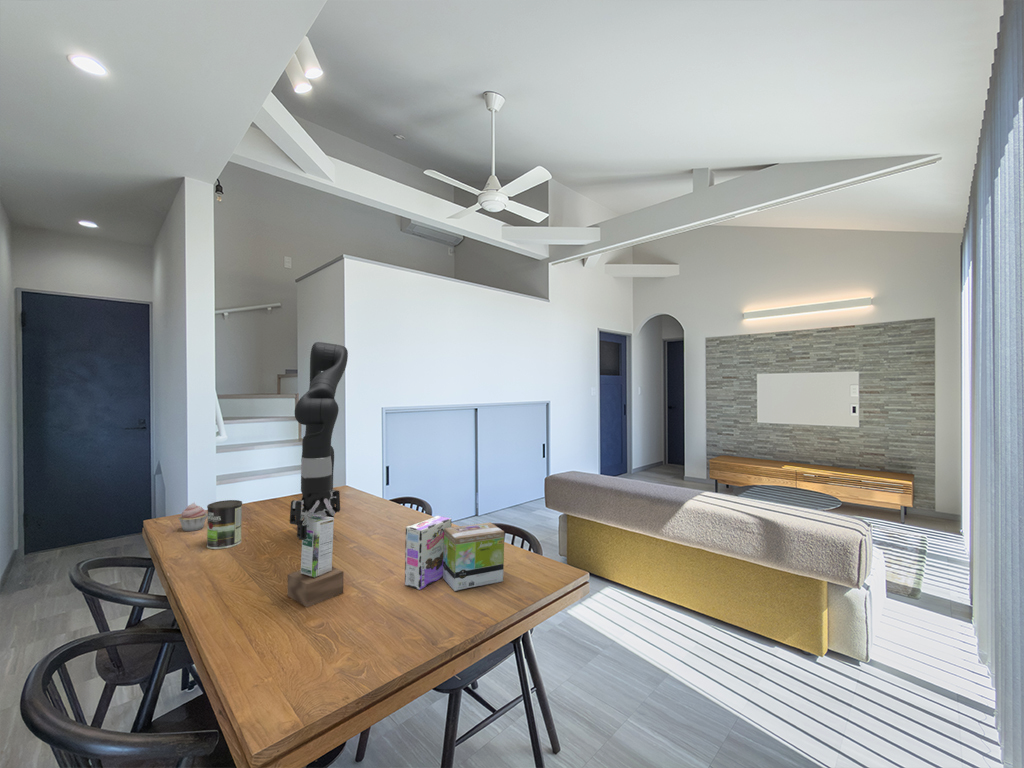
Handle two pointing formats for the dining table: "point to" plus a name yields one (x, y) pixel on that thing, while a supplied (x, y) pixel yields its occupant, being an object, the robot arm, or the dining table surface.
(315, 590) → the walnut block
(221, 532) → the coffee can
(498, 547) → the tea box
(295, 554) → the dining table surface
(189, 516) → the cupcake
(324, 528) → the syrup box
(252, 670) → the dining table surface
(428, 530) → the candy box
